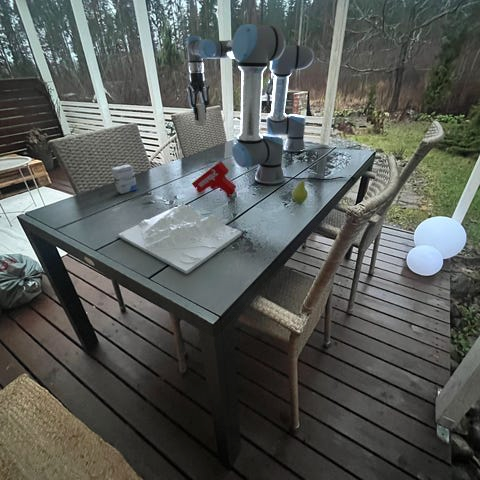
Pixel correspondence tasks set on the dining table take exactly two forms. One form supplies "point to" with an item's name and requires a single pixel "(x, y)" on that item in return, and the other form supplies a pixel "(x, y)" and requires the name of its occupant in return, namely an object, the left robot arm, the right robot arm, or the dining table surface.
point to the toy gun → (215, 180)
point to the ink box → (124, 178)
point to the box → (200, 115)
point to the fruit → (300, 192)
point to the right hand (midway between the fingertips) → (274, 104)
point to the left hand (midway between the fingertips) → (200, 119)
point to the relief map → (181, 237)
